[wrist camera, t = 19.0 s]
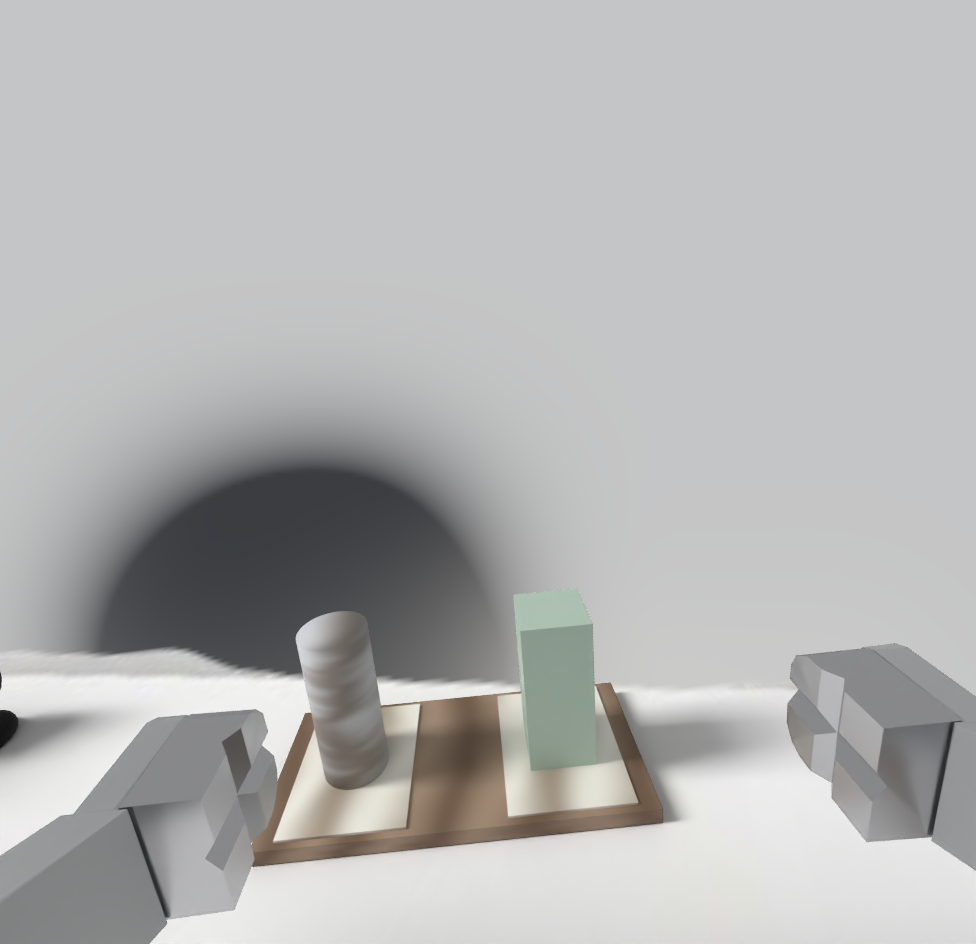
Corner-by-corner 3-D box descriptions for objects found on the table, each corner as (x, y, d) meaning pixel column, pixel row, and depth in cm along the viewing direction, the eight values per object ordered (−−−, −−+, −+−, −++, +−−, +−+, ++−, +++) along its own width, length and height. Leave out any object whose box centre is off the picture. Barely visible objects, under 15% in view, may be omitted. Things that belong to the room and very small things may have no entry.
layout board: (252, 866, 35) (206, 699, 31) (307, 724, 48) (279, 593, 44) (662, 822, 36) (664, 654, 32) (610, 693, 48) (608, 561, 44)
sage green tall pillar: (530, 771, 39) (520, 631, 36) (523, 722, 44) (513, 594, 40) (597, 764, 39) (592, 624, 36) (582, 716, 44) (577, 588, 41)
